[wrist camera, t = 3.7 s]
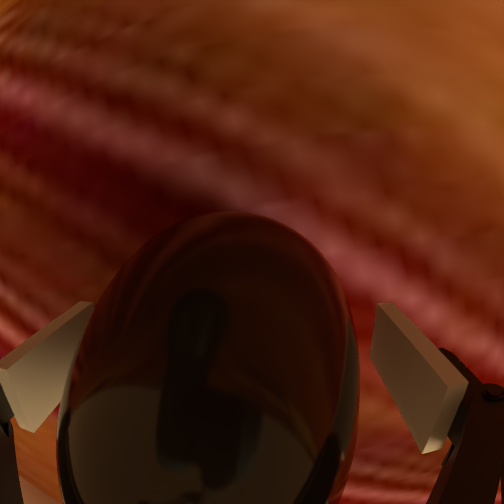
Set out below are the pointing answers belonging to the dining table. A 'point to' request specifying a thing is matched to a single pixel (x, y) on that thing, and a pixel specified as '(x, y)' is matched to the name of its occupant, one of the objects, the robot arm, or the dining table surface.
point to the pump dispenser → (214, 373)
